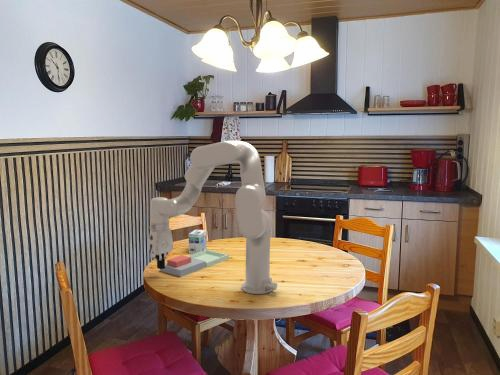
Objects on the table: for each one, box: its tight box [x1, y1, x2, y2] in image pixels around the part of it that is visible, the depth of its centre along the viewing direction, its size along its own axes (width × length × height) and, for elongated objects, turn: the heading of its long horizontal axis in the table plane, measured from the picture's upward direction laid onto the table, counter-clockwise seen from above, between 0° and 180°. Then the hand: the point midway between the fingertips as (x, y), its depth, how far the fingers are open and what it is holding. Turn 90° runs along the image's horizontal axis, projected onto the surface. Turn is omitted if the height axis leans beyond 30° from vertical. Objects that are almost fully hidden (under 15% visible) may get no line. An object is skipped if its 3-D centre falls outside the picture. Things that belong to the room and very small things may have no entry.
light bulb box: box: [188, 228, 208, 255], centre depth 205 cm, size 11×7×11 cm, turn 168°
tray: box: [186, 249, 230, 268], centre depth 191 cm, size 15×16×2 cm
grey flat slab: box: [159, 258, 207, 278], centre depth 177 cm, size 13×16×3 cm
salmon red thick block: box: [166, 254, 191, 268], centre depth 176 cm, size 6×9×2 cm, turn 144°
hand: (161, 268), depth 167 cm, fingers closed
